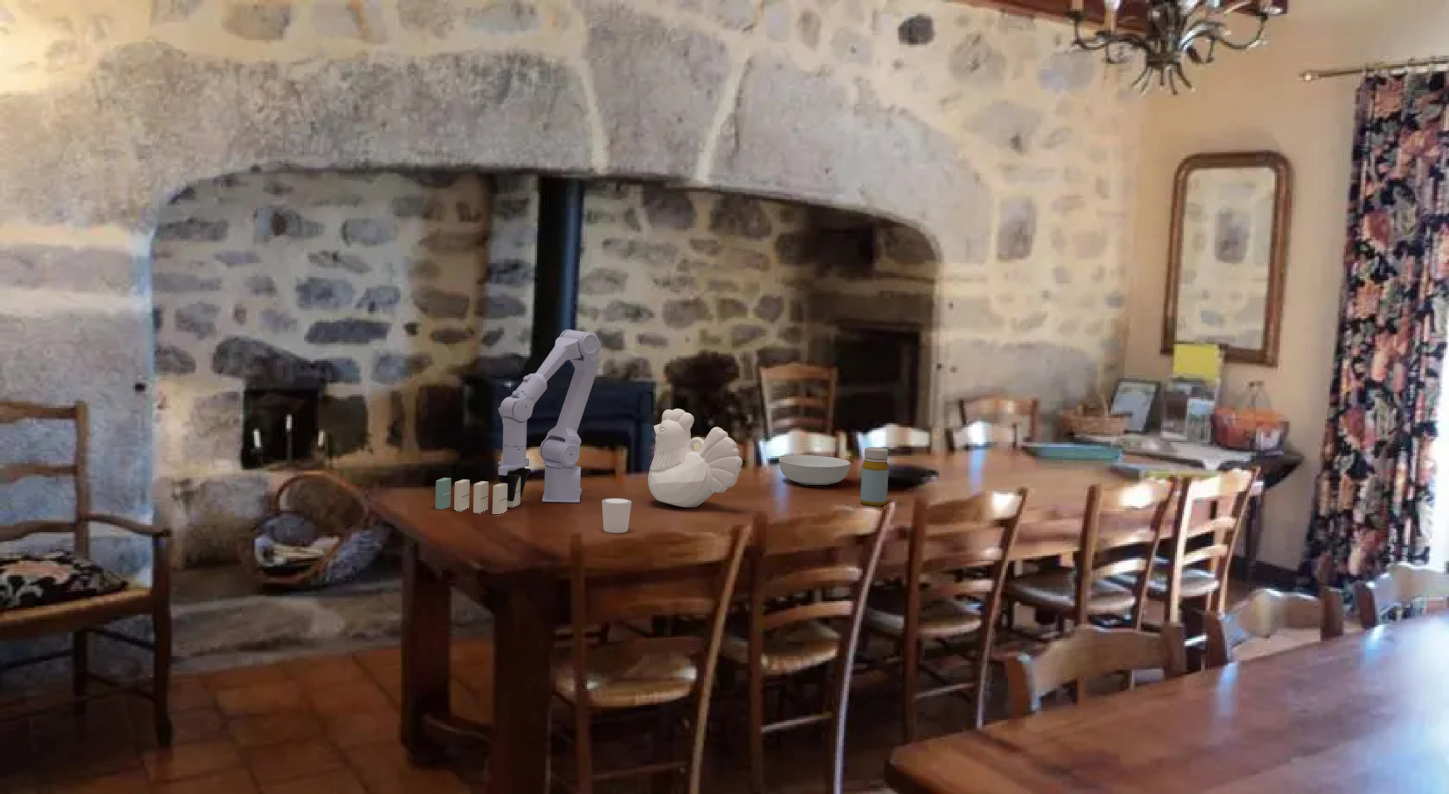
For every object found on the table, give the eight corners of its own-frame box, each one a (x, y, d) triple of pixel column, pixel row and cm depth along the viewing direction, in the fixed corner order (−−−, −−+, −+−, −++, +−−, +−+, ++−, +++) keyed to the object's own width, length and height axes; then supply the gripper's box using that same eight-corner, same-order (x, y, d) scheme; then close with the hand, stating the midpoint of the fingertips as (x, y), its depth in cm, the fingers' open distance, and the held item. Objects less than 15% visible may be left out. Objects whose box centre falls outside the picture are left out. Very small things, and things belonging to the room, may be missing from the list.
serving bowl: (861, 483, 350) (862, 460, 350) (828, 493, 333) (829, 469, 332) (799, 474, 361) (800, 451, 361) (764, 483, 344) (765, 459, 343)
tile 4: (507, 511, 291) (507, 483, 290) (499, 515, 287) (500, 486, 286) (500, 511, 292) (500, 483, 291) (492, 514, 287) (493, 486, 286)
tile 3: (488, 509, 292) (488, 481, 291) (480, 513, 288) (481, 485, 287) (481, 509, 293) (481, 481, 292) (473, 512, 288) (473, 484, 288)
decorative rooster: (634, 503, 307) (637, 408, 304) (672, 495, 320) (676, 403, 317) (711, 520, 292) (716, 419, 289) (748, 510, 305) (753, 414, 302)
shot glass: (601, 526, 280) (602, 497, 279) (630, 527, 281) (631, 498, 280) (600, 533, 273) (601, 503, 272) (630, 534, 274) (631, 504, 273)
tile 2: (469, 508, 293) (469, 480, 293) (461, 511, 289) (461, 483, 288) (462, 507, 294) (462, 479, 293) (454, 510, 290) (454, 482, 289)
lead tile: (520, 504, 300) (521, 476, 299) (513, 507, 295) (513, 479, 295) (513, 503, 300) (514, 476, 299) (506, 506, 296) (506, 479, 295)
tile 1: (450, 506, 294) (451, 478, 294) (442, 509, 290) (443, 481, 289) (443, 505, 295) (444, 477, 294) (435, 508, 291) (436, 480, 290)
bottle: (888, 503, 323) (892, 448, 321) (883, 507, 316) (886, 452, 315) (863, 500, 325) (866, 446, 324) (857, 504, 319) (860, 449, 317)
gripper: (511, 439, 304) (510, 492, 305) (487, 448, 290) (486, 503, 291) (537, 442, 302) (535, 494, 304) (514, 450, 288) (513, 505, 290)
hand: (513, 499), depth 298 cm, fingers closed on lead tile, 4 cm apart
